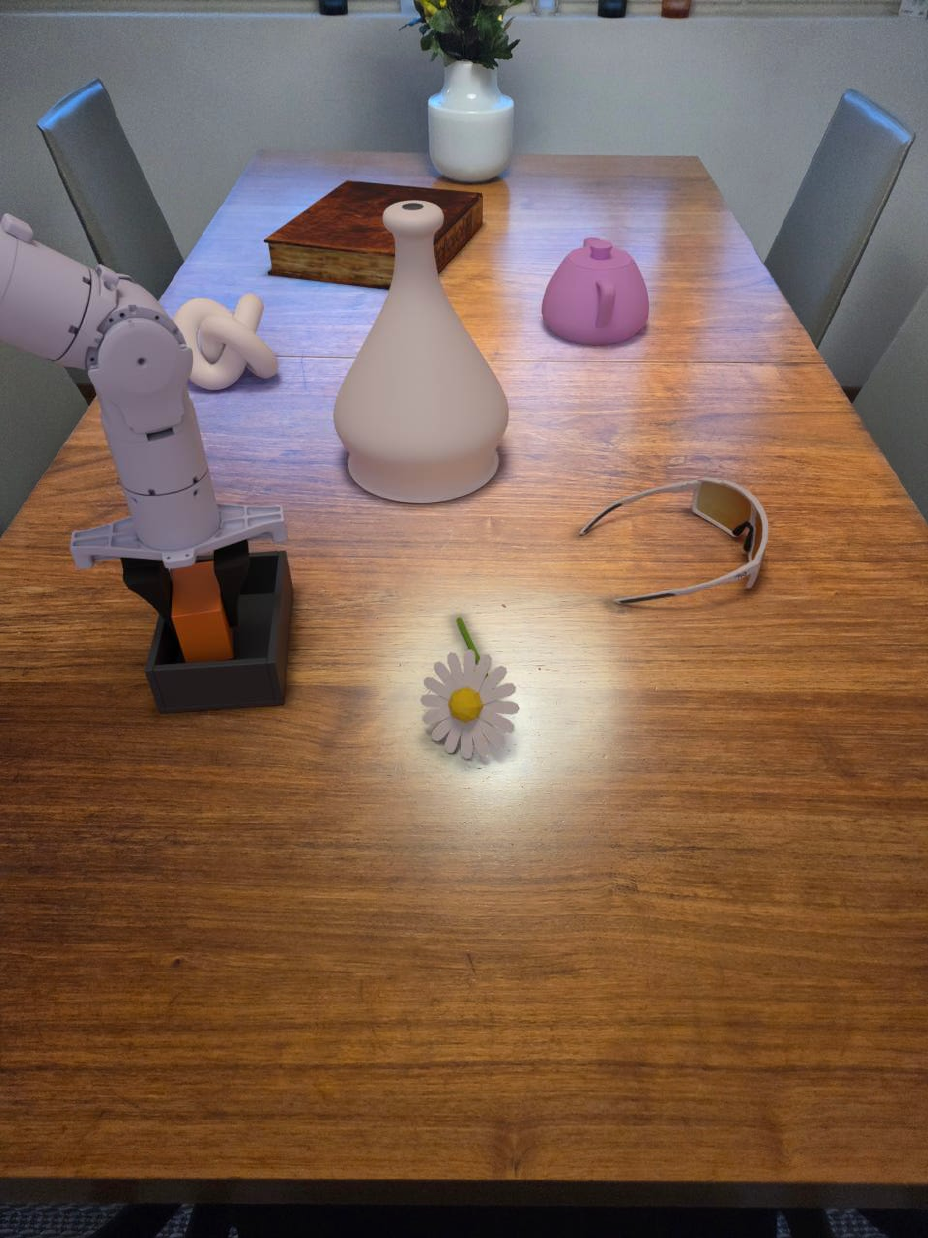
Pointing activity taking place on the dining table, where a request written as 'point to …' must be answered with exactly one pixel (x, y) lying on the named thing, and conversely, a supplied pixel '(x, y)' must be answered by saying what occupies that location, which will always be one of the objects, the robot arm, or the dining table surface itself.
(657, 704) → the dining table surface
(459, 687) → the decorative flower
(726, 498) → the sunglasses
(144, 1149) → the dining table surface
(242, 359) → the beige knot sculpture
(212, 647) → the block
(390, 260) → the book
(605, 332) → the teapot
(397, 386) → the vase
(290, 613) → the open box
